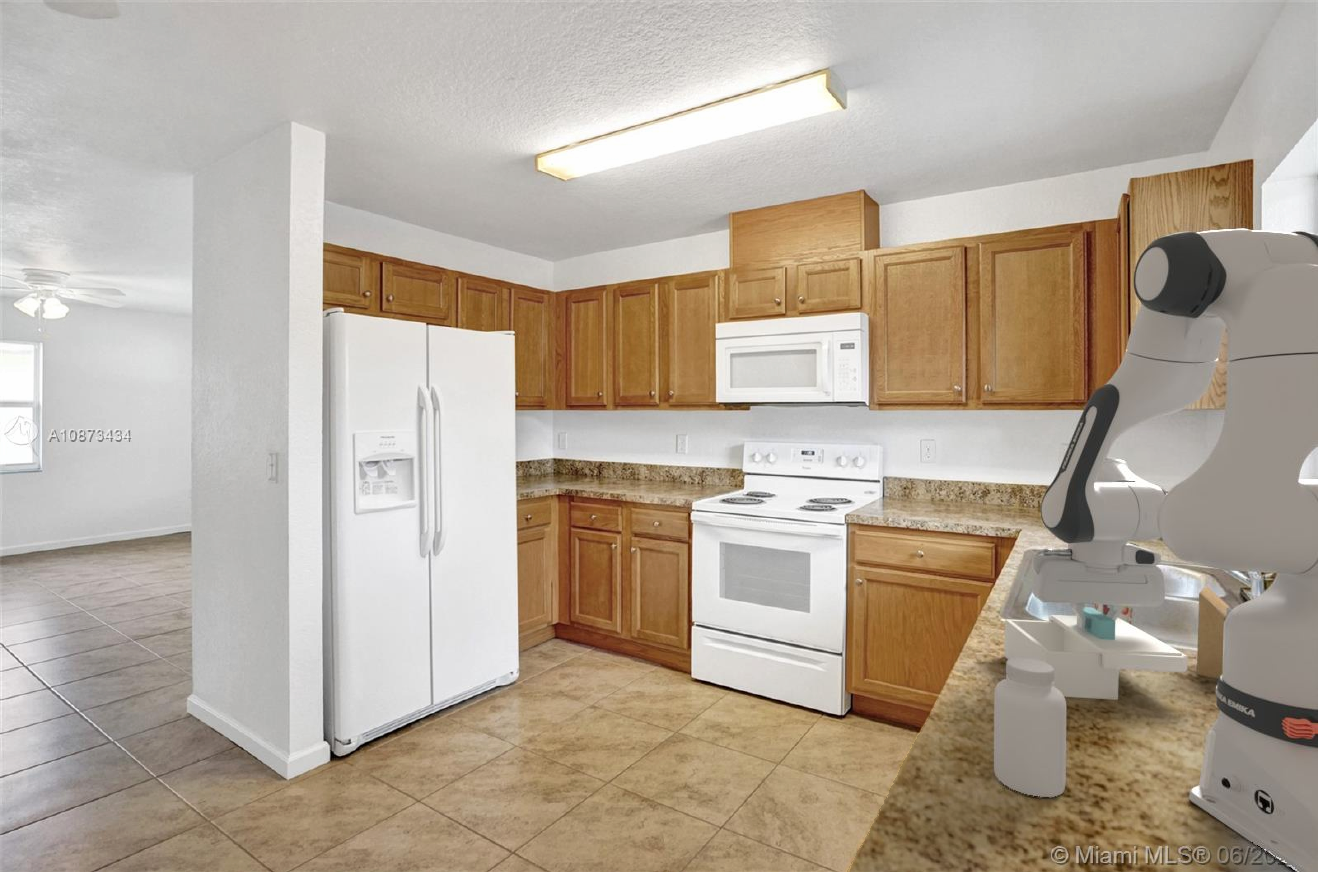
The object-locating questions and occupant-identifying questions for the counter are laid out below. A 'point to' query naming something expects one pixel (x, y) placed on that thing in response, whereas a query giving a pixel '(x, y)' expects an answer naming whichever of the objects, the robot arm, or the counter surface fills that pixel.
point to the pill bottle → (1030, 729)
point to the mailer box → (1062, 658)
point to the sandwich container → (1211, 633)
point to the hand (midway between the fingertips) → (1095, 628)
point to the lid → (1123, 644)
